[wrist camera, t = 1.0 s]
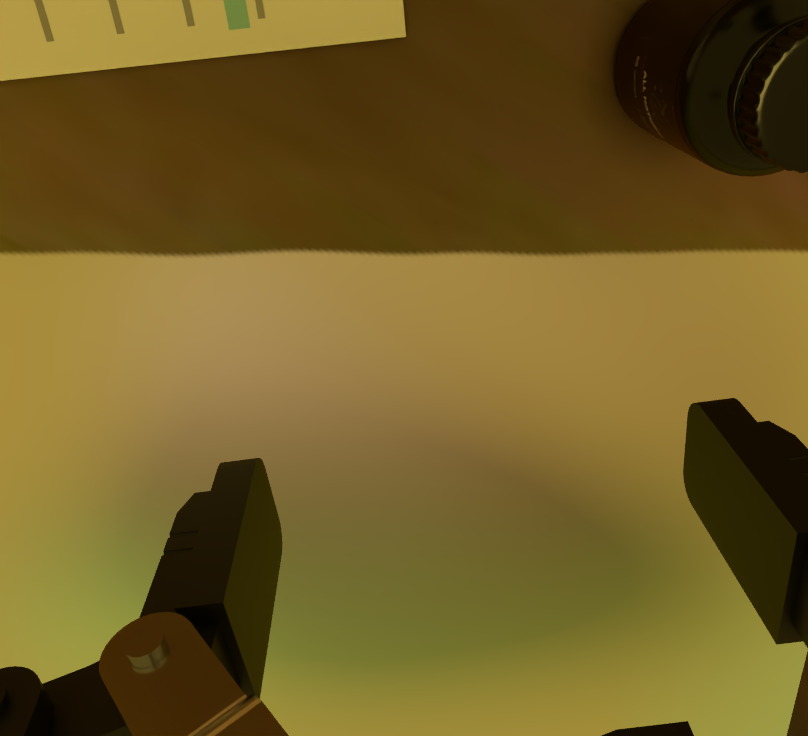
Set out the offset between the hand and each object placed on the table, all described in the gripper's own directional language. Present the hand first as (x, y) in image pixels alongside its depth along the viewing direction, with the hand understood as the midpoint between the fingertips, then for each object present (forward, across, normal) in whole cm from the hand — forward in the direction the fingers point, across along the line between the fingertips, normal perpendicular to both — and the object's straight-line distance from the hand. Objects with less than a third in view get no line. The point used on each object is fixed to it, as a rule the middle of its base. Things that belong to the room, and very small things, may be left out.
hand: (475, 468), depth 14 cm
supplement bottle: (+25, -13, -3) cm, 29 cm away
